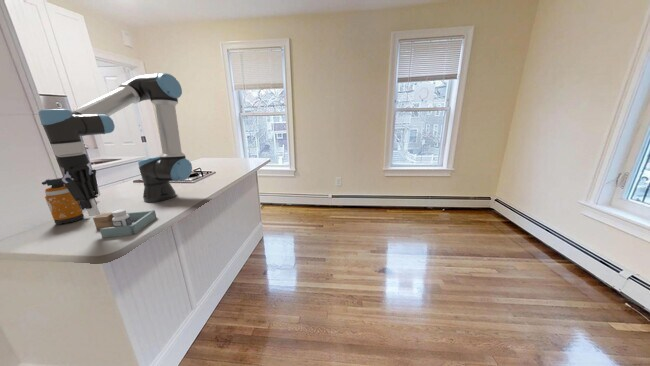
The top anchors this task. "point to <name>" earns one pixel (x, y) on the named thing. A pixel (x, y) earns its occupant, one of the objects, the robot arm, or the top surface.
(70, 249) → the top surface
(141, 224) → the box
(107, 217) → the tan block
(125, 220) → the pill bottle
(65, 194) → the canister
